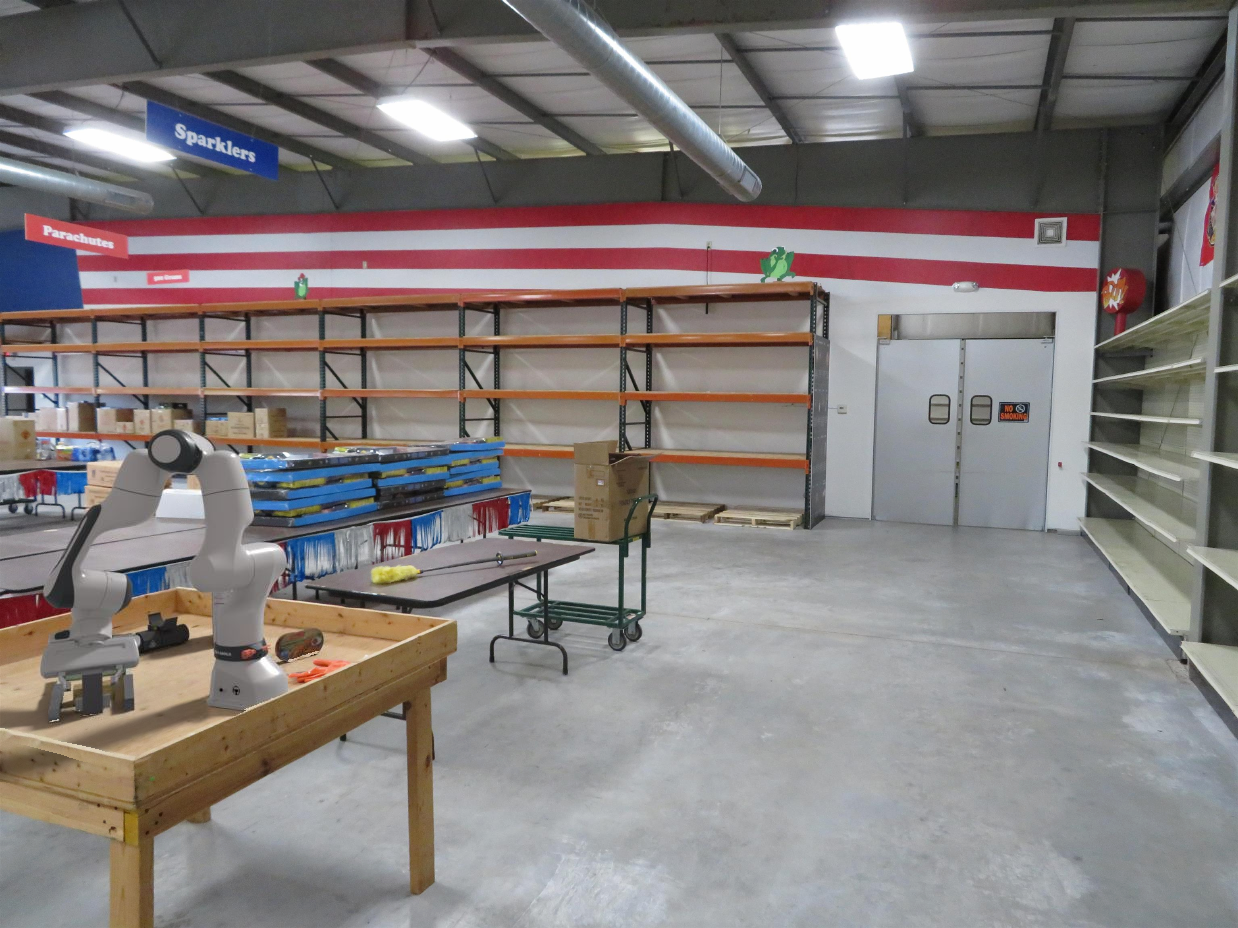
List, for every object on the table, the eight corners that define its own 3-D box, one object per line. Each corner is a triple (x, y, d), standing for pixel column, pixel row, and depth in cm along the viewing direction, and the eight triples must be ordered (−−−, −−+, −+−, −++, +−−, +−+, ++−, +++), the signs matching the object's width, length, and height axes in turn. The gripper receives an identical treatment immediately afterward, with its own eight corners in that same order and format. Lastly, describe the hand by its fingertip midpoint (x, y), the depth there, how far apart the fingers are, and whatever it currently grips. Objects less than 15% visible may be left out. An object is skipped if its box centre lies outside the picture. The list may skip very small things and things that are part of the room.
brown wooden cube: (113, 699, 199) (113, 684, 199) (94, 702, 197) (94, 686, 197) (113, 694, 202) (113, 679, 202) (95, 697, 200) (94, 681, 200)
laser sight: (102, 656, 232) (102, 623, 231) (178, 639, 251) (178, 608, 250) (120, 663, 227) (120, 629, 226) (196, 644, 246) (196, 613, 246)
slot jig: (134, 709, 192) (134, 697, 192) (48, 722, 183) (48, 710, 183) (132, 684, 209) (132, 673, 209) (54, 695, 200) (54, 684, 200)
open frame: (130, 685, 209) (130, 674, 209) (56, 695, 200) (56, 683, 200) (129, 670, 220) (129, 660, 220) (59, 680, 211) (59, 669, 211)
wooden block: (92, 702, 197) (92, 686, 196) (73, 705, 194) (73, 689, 194) (93, 697, 200) (92, 682, 200) (73, 700, 198) (73, 684, 198)
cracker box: (214, 634, 257) (213, 570, 256) (234, 632, 259) (234, 569, 258) (211, 646, 244) (210, 579, 243) (232, 644, 247) (232, 578, 245)
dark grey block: (110, 712, 191) (109, 671, 190) (75, 717, 187) (74, 676, 186) (110, 705, 195) (109, 665, 194) (76, 710, 191) (75, 669, 191)
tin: (279, 665, 228) (279, 636, 228) (273, 663, 230) (273, 634, 230) (324, 652, 241) (324, 625, 240) (318, 650, 243) (318, 624, 242)
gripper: (139, 638, 205) (141, 686, 198) (42, 649, 194) (40, 700, 187) (140, 625, 201) (141, 674, 194) (41, 635, 190) (38, 687, 183)
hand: (91, 687), depth 190 cm, fingers open, 8 cm apart
